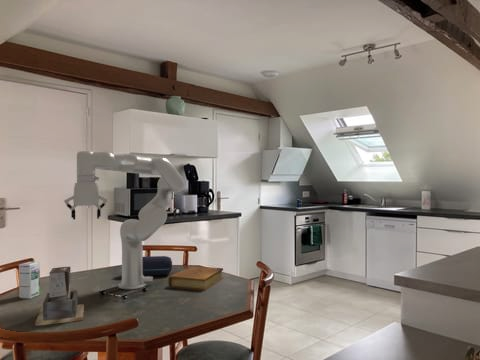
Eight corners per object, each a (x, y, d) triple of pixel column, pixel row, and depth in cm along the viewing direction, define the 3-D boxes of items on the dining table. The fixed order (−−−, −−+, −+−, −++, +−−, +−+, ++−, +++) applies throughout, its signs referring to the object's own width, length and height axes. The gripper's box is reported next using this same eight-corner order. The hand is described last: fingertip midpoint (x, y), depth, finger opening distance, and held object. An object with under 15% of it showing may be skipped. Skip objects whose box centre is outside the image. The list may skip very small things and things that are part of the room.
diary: (190, 276, 198) (190, 265, 199) (223, 279, 193) (223, 268, 193) (168, 288, 177) (168, 275, 177) (205, 291, 171) (205, 278, 171)
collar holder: (84, 307, 148) (83, 288, 149) (82, 320, 134) (82, 299, 135) (41, 312, 143) (41, 293, 143) (35, 326, 129) (35, 304, 129)
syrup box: (30, 298, 160) (30, 264, 160) (18, 298, 161) (18, 264, 161) (40, 294, 166) (40, 261, 166) (28, 294, 167) (28, 261, 167)
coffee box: (68, 316, 135) (68, 271, 135) (49, 318, 133) (48, 272, 133) (70, 308, 144) (70, 266, 144) (52, 310, 141) (52, 267, 141)
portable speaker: (172, 272, 206) (172, 254, 206) (171, 277, 196) (171, 257, 196) (125, 274, 203) (125, 255, 203) (122, 278, 193) (122, 259, 193)
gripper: (106, 179, 171) (107, 217, 171) (65, 179, 165) (65, 219, 165) (107, 179, 164) (107, 218, 164) (63, 179, 158) (63, 220, 158)
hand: (86, 218), depth 164 cm, fingers open, 9 cm apart
